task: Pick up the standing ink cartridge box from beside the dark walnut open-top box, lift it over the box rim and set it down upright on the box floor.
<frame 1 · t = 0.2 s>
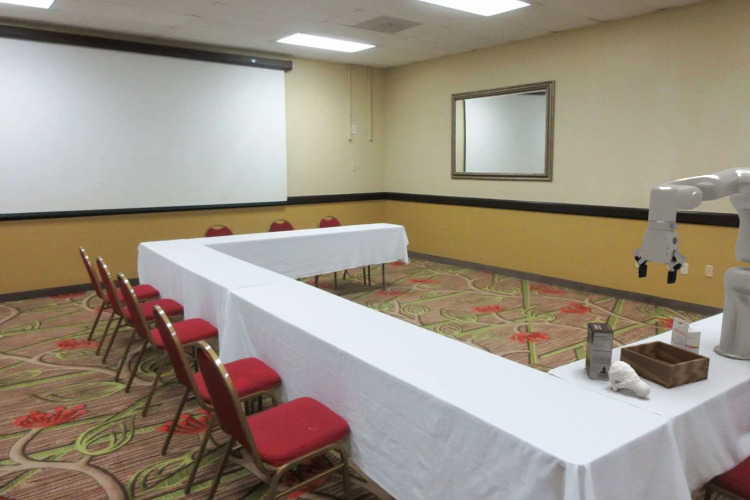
hand: (656, 280, 169), 31 cm above the table, tool pointing down, fingers open, 9 cm apart
coffee box: (597, 375, 173), on the table
ink cartridge box: (683, 361, 185), on the table
white figurine: (629, 393, 159), on the table
walnut box: (662, 373, 173), on the table
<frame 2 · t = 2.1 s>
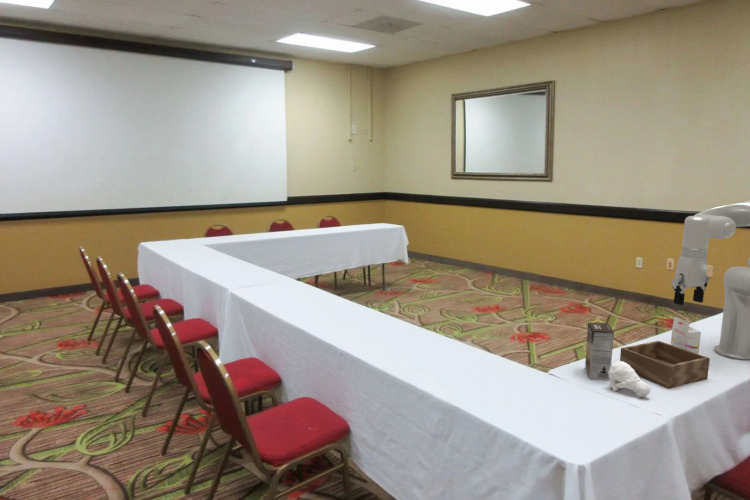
hand: (688, 303, 181), 21 cm above the table, tool pointing down, fingers open, 9 cm apart
nothing on the table moved.
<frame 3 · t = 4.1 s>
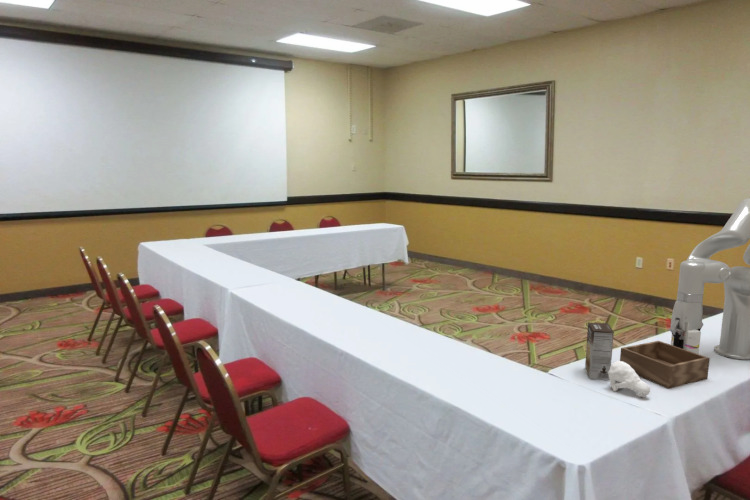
hand: (684, 347, 184), 5 cm above the table, tool pointing down, fingers closed on ink cartridge box, 6 cm apart
ink cartridge box: (683, 361, 185), on the table, touching gripper
everything else where it was.
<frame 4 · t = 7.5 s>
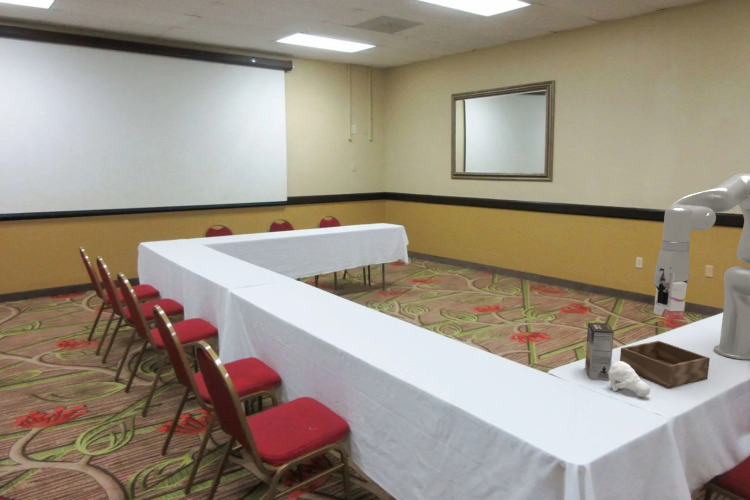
hand: (669, 302, 170), 24 cm above the table, tool pointing down, fingers closed on ink cartridge box, 6 cm apart
ink cartridge box: (668, 316, 171), point 19 cm above the table, touching gripper
everything else where it was.
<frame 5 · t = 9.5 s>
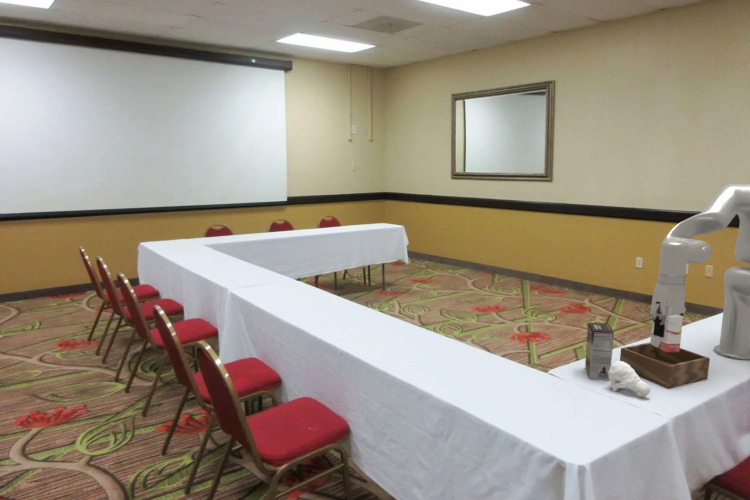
hand: (665, 334, 171), 13 cm above the table, tool pointing down, fingers closed on ink cartridge box, 6 cm apart
ink cartridge box: (664, 348, 172), point 8 cm above the table, touching gripper
everything else where it was.
when the fingers open (7 cm above the table, at t = 11.2 s): ink cartridge box drops 1 cm, resting on walnut box.
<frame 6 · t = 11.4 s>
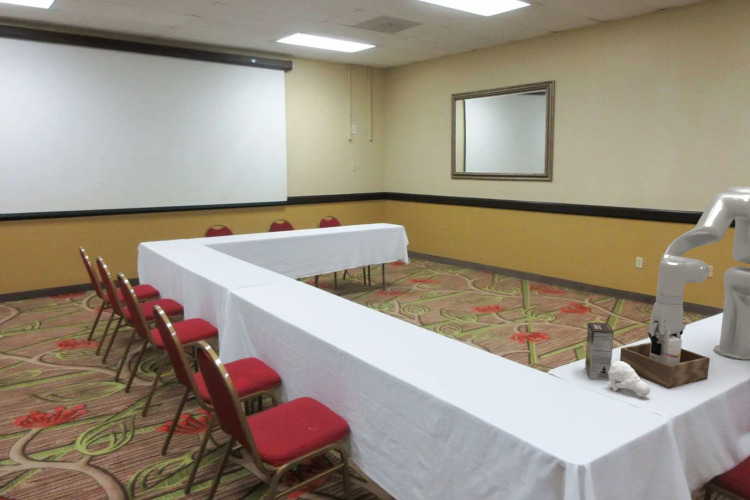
hand: (664, 351, 172), 7 cm above the table, tool pointing down, fingers open, 7 cm apart
ink cartridge box: (663, 370, 174), point 1 cm above the table, touching walnut box
everything else where it was.
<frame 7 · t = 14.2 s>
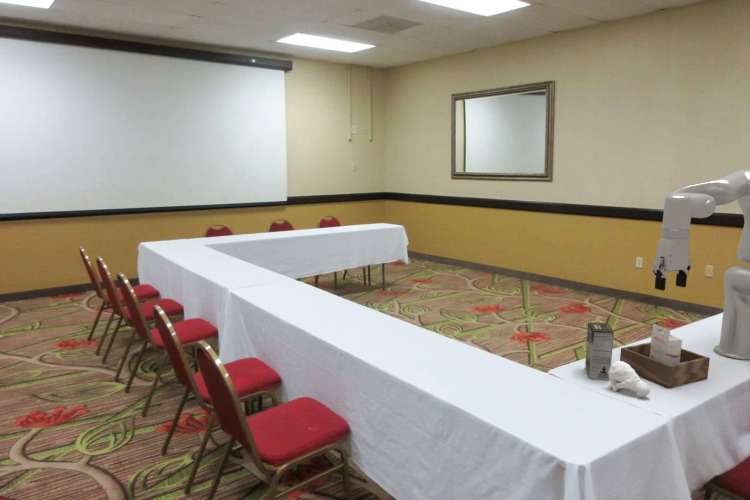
hand: (670, 288, 169), 28 cm above the table, tool pointing down, fingers open, 9 cm apart
nothing on the table moved.
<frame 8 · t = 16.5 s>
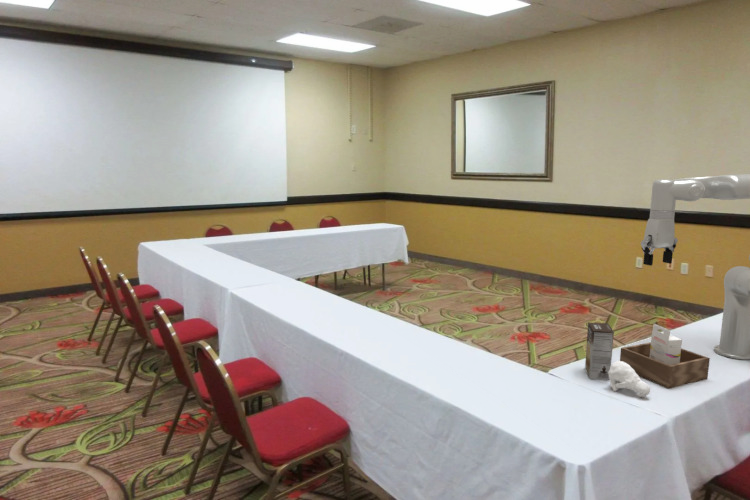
hand: (657, 263, 188), 32 cm above the table, tool pointing down, fingers open, 9 cm apart
nothing on the table moved.
at the end: ink cartridge box inside the target area on the walnut box (0.4 cm from its centre), point 0.8 cm above the walnut box's base; ink cartridge box tilted 0°; the gripper is holding nothing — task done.
